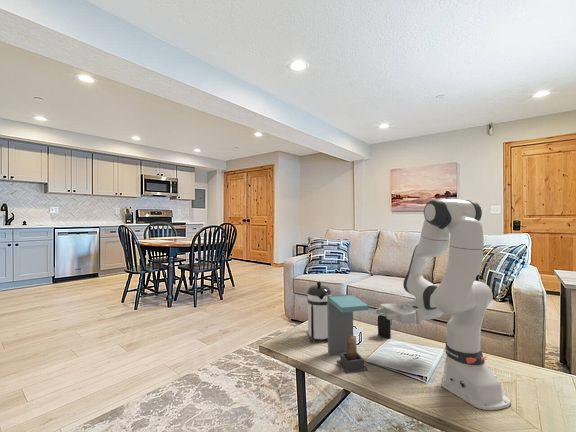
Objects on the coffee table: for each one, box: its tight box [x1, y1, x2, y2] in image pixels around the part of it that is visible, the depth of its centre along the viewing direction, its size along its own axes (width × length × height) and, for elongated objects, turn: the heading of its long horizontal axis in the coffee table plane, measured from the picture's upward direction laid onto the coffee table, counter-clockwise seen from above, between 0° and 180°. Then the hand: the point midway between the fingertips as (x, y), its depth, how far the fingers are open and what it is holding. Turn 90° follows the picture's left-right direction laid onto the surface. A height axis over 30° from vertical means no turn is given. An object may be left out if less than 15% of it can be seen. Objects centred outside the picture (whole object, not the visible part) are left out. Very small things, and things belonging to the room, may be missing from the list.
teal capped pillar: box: [327, 293, 370, 355], centre depth 132 cm, size 18×12×27 cm, turn 12°
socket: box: [336, 352, 369, 374], centre depth 127 cm, size 10×10×4 cm
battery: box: [377, 313, 393, 339], centre depth 158 cm, size 7×4×11 cm, turn 54°
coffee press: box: [306, 281, 332, 343], centre depth 158 cm, size 17×16×30 cm
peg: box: [347, 334, 358, 361], centre depth 127 cm, size 4×4×12 cm
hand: (381, 314), depth 131 cm, fingers open, 8 cm apart
